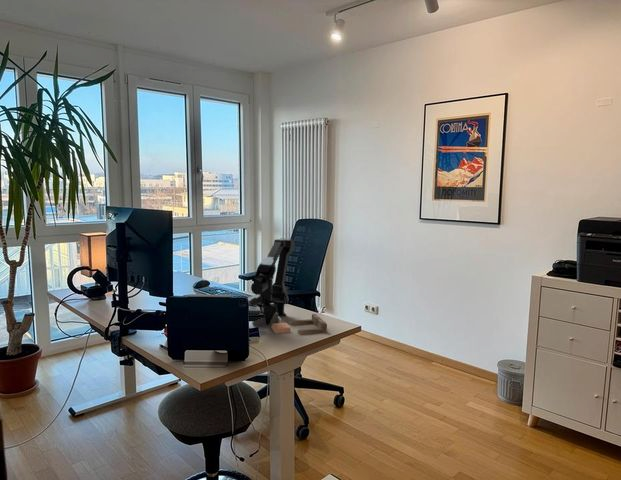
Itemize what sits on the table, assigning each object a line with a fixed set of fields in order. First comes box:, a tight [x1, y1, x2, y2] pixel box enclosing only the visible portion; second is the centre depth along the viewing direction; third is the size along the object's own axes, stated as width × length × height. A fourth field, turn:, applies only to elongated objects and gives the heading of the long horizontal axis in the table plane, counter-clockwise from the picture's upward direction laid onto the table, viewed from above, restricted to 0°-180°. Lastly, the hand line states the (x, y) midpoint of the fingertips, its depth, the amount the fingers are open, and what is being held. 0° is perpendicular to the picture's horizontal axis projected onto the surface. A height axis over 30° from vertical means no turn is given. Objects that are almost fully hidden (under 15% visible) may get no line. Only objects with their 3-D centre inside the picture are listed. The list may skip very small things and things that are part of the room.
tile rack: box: [289, 313, 328, 335], centre depth 201 cm, size 15×13×4 cm
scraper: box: [251, 312, 282, 326], centre depth 204 cm, size 13×7×5 cm, turn 109°
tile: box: [271, 322, 291, 334], centre depth 196 cm, size 7×7×2 cm
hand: (265, 321), depth 204 cm, fingers open, 9 cm apart
